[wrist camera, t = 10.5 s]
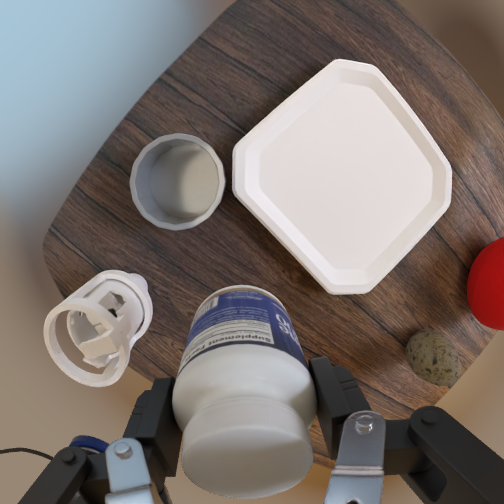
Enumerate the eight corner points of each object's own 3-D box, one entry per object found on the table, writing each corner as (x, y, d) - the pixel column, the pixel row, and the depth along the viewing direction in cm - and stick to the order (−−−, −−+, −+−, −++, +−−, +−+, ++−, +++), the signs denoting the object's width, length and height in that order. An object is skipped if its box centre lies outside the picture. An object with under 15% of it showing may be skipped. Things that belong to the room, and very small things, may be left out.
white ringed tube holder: (175, 304, 34) (139, 386, 19) (123, 323, 34) (70, 401, 19) (148, 245, 32) (86, 296, 17) (96, 268, 32) (21, 324, 18)
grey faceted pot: (155, 228, 32) (139, 237, 26) (141, 151, 30) (123, 146, 24) (232, 213, 32) (231, 220, 26) (219, 134, 30) (215, 125, 24)
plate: (455, 187, 32) (465, 188, 30) (341, 306, 35) (347, 314, 32) (349, 50, 28) (355, 43, 26) (210, 170, 31) (208, 170, 28)
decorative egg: (434, 314, 36) (478, 349, 26) (431, 351, 37) (469, 389, 28) (397, 327, 36) (437, 368, 26) (396, 364, 37) (430, 408, 27)
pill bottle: (294, 360, 18) (334, 494, 8) (204, 372, 18) (186, 510, 8) (284, 274, 16) (340, 391, 7) (183, 289, 16) (131, 414, 7)
